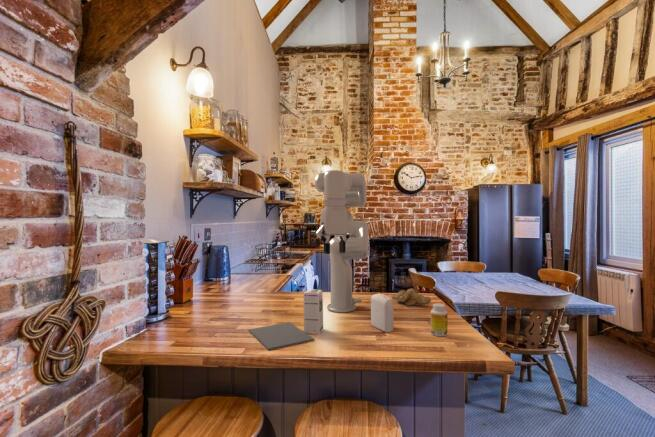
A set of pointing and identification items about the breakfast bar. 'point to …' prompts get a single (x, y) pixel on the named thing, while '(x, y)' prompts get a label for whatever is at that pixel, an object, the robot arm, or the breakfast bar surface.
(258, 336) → the mat
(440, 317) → the supplement bottle
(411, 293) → the ginger root
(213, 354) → the breakfast bar surface
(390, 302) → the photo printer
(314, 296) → the syrup box
